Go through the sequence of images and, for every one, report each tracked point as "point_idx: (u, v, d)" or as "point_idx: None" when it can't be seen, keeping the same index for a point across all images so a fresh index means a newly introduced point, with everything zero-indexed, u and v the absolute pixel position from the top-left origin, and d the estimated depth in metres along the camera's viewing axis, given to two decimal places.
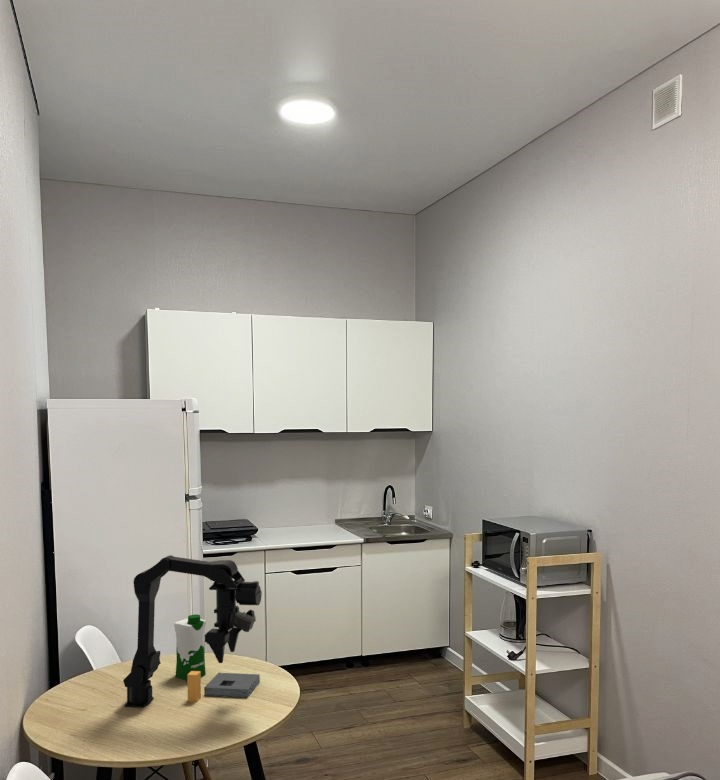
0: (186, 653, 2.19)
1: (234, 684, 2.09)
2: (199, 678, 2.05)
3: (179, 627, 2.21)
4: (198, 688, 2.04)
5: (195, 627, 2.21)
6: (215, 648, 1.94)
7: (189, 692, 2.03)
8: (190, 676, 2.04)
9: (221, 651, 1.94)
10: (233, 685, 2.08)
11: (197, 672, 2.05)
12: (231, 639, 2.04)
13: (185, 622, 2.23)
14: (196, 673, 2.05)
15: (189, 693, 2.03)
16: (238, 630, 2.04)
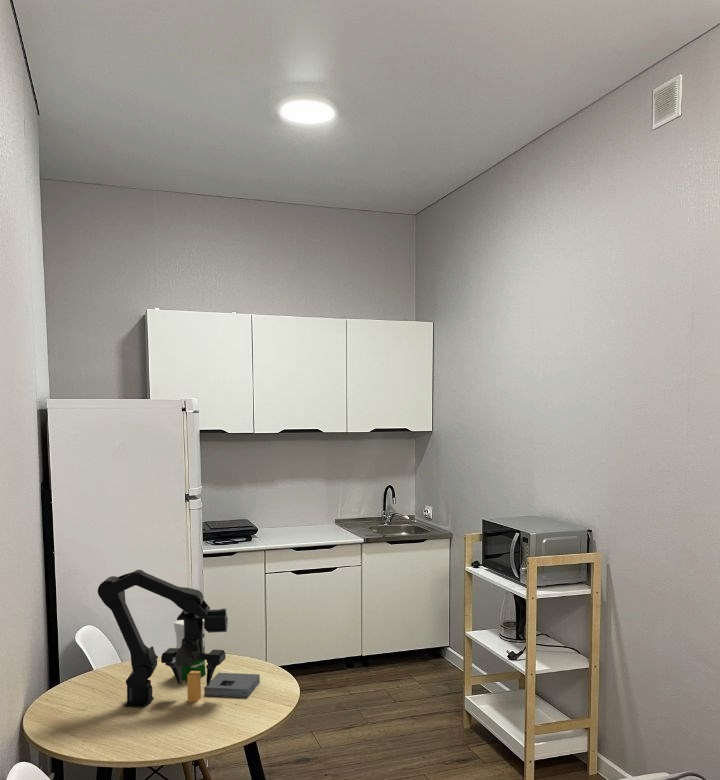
0: None
1: (234, 684, 2.09)
2: (199, 678, 2.05)
3: (179, 627, 2.21)
4: (198, 688, 2.04)
5: None
6: None
7: (189, 692, 2.03)
8: (190, 676, 2.04)
9: None
10: (233, 685, 2.08)
11: (197, 672, 2.05)
12: None
13: None
14: (196, 673, 2.05)
15: (189, 693, 2.03)
16: None
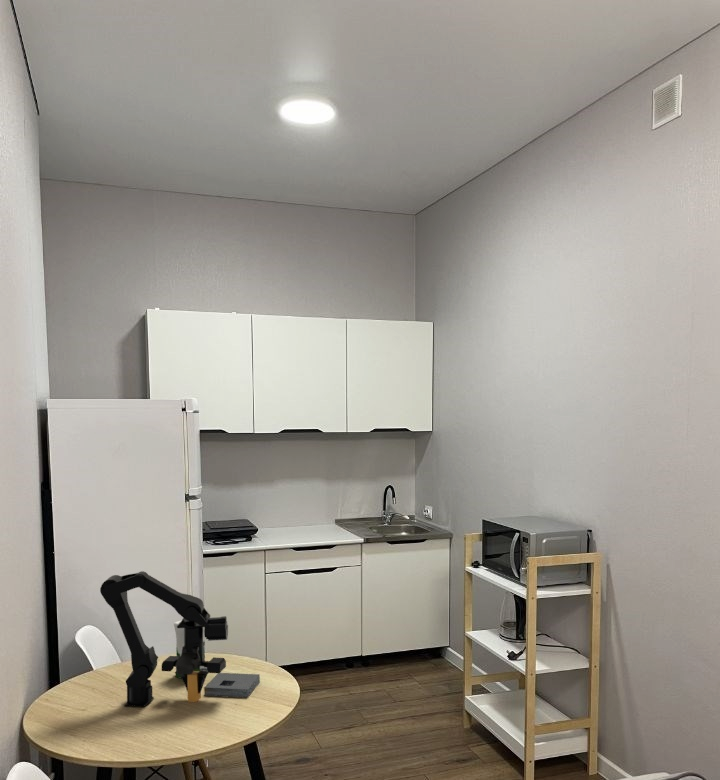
0: None
1: (234, 684, 2.09)
2: None
3: None
4: None
5: None
6: None
7: (189, 692, 2.03)
8: (190, 676, 2.04)
9: None
10: (233, 685, 2.08)
11: (197, 672, 2.05)
12: None
13: None
14: (196, 673, 2.05)
15: (189, 693, 2.03)
16: None
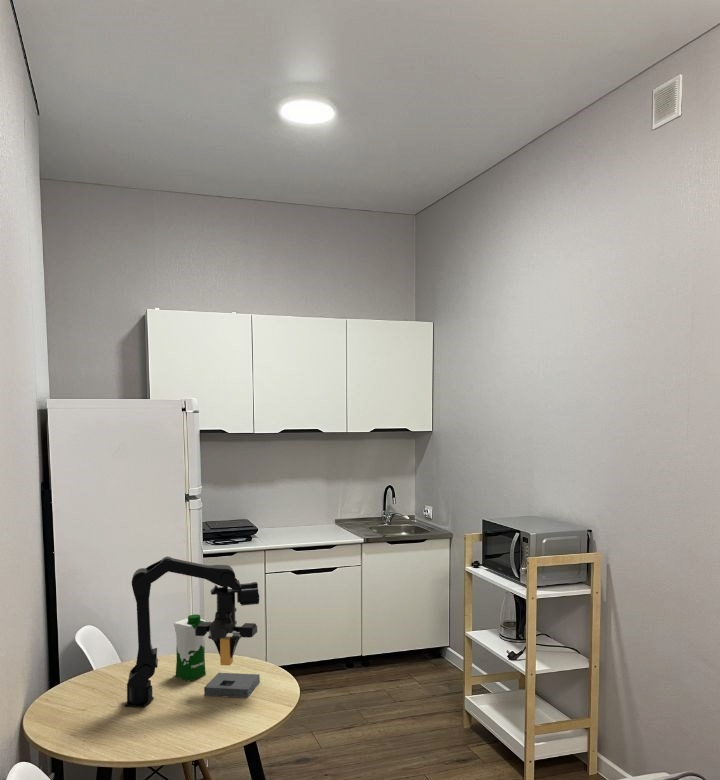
0: (186, 653, 2.20)
1: (234, 684, 2.09)
2: None
3: (179, 627, 2.21)
4: None
5: (195, 627, 2.21)
6: None
7: (222, 656, 2.09)
8: (223, 640, 2.10)
9: None
10: (233, 685, 2.08)
11: (229, 637, 2.11)
12: None
13: (185, 622, 2.23)
14: (228, 638, 2.11)
15: (221, 657, 2.09)
16: None
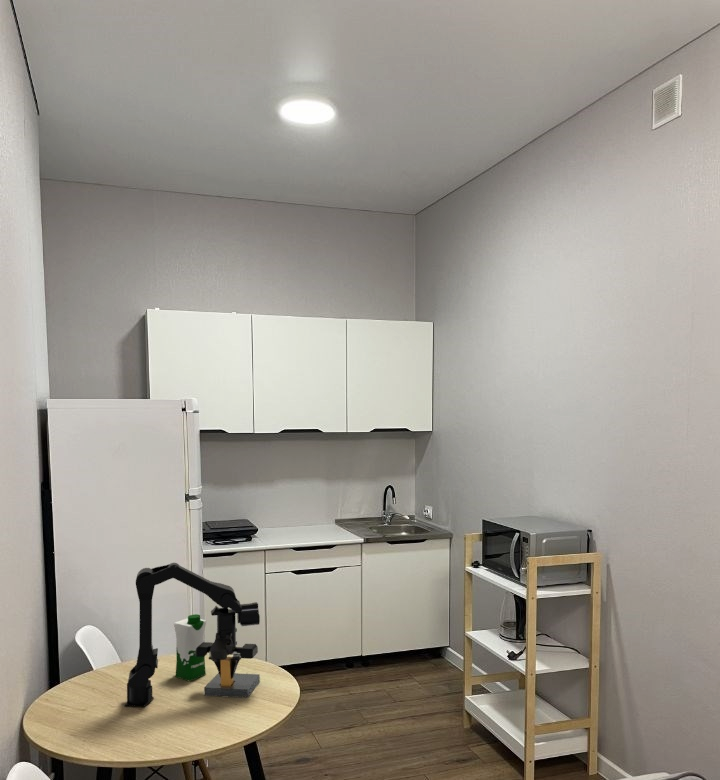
0: (186, 653, 2.19)
1: (234, 684, 2.09)
2: None
3: (179, 627, 2.21)
4: None
5: (195, 627, 2.21)
6: None
7: (222, 677, 2.09)
8: (223, 661, 2.09)
9: None
10: (233, 685, 2.08)
11: (230, 658, 2.11)
12: None
13: (185, 622, 2.23)
14: (229, 658, 2.10)
15: (222, 678, 2.09)
16: None
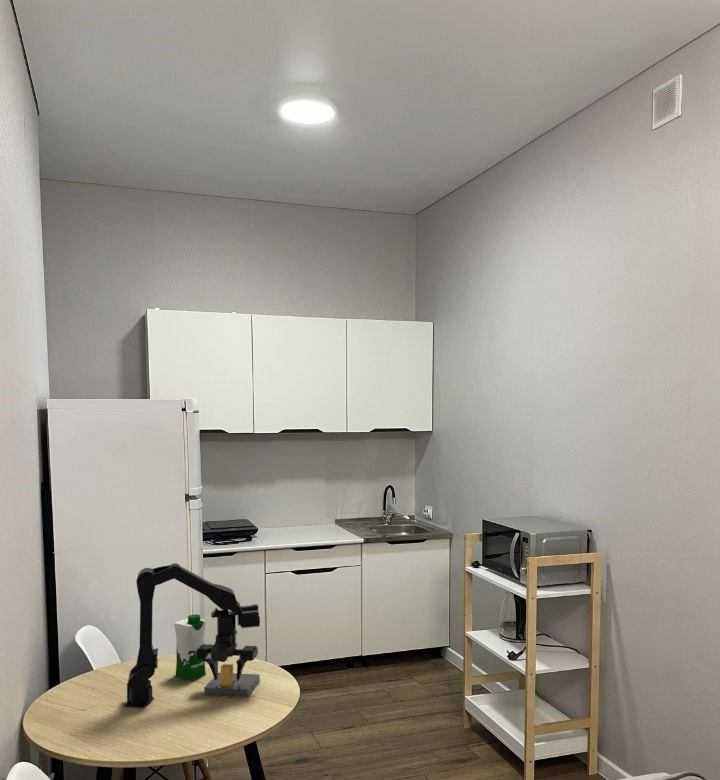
0: (186, 653, 2.19)
1: (234, 684, 2.09)
2: (232, 670, 2.11)
3: (179, 627, 2.21)
4: (231, 680, 2.10)
5: (195, 627, 2.21)
6: None
7: (222, 684, 2.09)
8: (223, 668, 2.09)
9: None
10: (233, 685, 2.08)
11: (230, 665, 2.11)
12: None
13: (185, 622, 2.23)
14: (229, 666, 2.10)
15: (222, 685, 2.09)
16: None
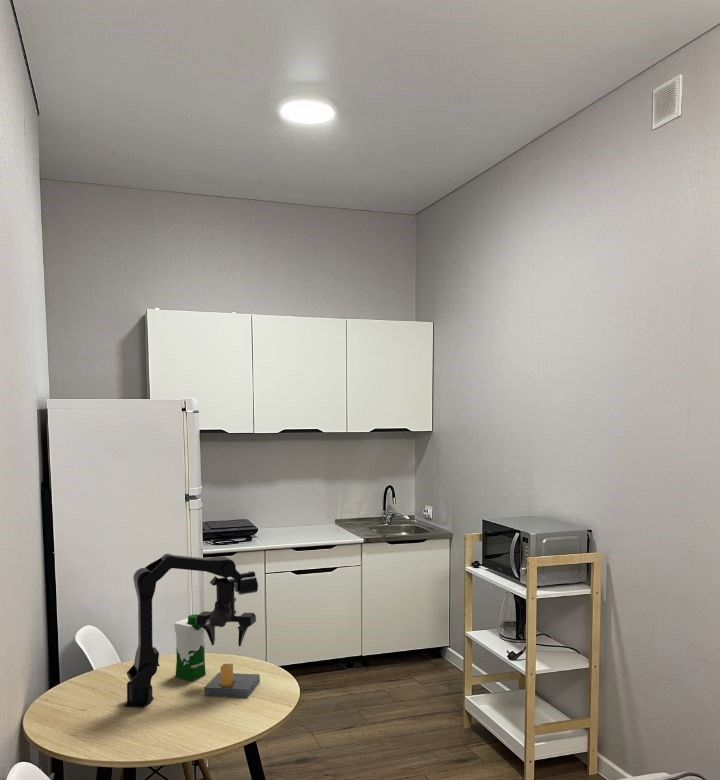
0: (186, 653, 2.19)
1: (234, 684, 2.09)
2: (231, 670, 2.11)
3: (179, 627, 2.21)
4: (231, 680, 2.10)
5: (195, 627, 2.21)
6: None
7: (222, 684, 2.09)
8: (223, 668, 2.09)
9: None
10: (233, 685, 2.08)
11: (230, 665, 2.11)
12: None
13: (185, 622, 2.23)
14: (229, 665, 2.10)
15: (222, 685, 2.09)
16: None
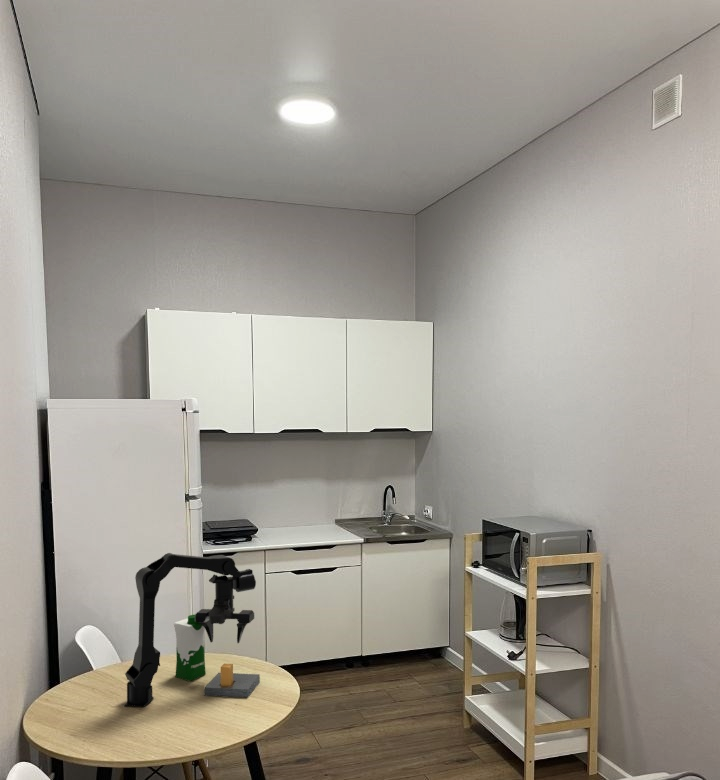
0: (186, 653, 2.19)
1: (234, 684, 2.09)
2: (232, 670, 2.11)
3: (179, 627, 2.21)
4: (231, 680, 2.10)
5: (195, 627, 2.21)
6: None
7: (222, 684, 2.09)
8: (223, 668, 2.09)
9: None
10: (233, 685, 2.08)
11: (230, 665, 2.11)
12: None
13: (185, 622, 2.23)
14: (229, 665, 2.10)
15: (222, 685, 2.09)
16: None
